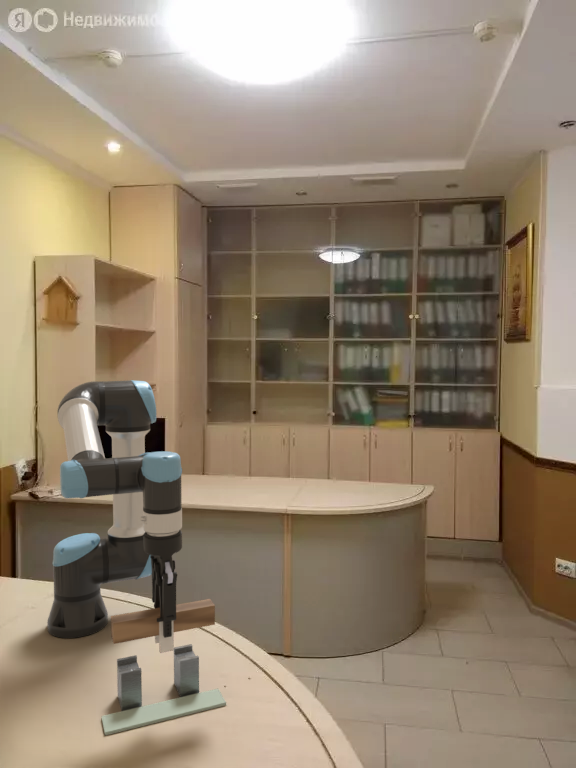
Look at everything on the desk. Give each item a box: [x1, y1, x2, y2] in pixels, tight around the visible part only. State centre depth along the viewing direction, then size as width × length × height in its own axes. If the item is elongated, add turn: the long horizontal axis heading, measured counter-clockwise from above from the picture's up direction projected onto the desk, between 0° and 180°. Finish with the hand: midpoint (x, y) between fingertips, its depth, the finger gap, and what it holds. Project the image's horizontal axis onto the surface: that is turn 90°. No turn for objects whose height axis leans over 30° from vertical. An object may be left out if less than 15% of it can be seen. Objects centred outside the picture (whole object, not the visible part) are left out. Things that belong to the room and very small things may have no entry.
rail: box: [110, 598, 216, 645], centre depth 119 cm, size 4×20×4 cm, turn 114°
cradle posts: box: [116, 643, 200, 712], centre depth 126 cm, size 6×16×8 cm, turn 114°
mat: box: [101, 688, 227, 736], centre depth 120 cm, size 6×24×1 cm, turn 114°
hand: (164, 645), depth 120 cm, fingers closed on rail, 3 cm apart
